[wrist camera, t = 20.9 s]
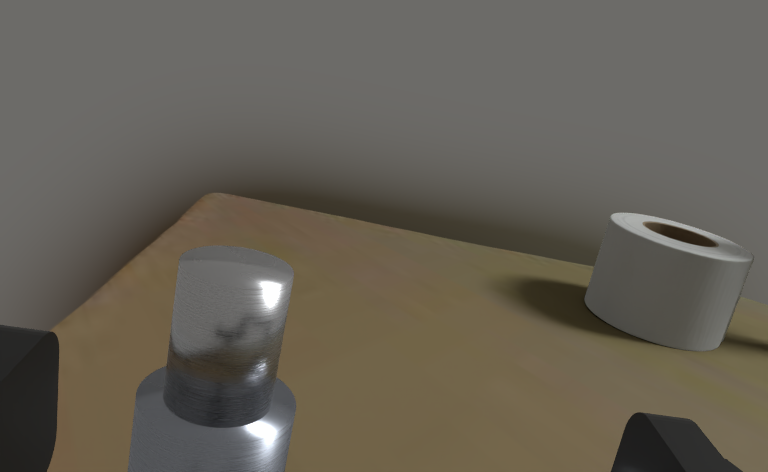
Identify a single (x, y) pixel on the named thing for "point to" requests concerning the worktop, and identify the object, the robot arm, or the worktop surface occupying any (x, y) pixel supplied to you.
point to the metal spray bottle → (219, 370)
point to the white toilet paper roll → (667, 281)
